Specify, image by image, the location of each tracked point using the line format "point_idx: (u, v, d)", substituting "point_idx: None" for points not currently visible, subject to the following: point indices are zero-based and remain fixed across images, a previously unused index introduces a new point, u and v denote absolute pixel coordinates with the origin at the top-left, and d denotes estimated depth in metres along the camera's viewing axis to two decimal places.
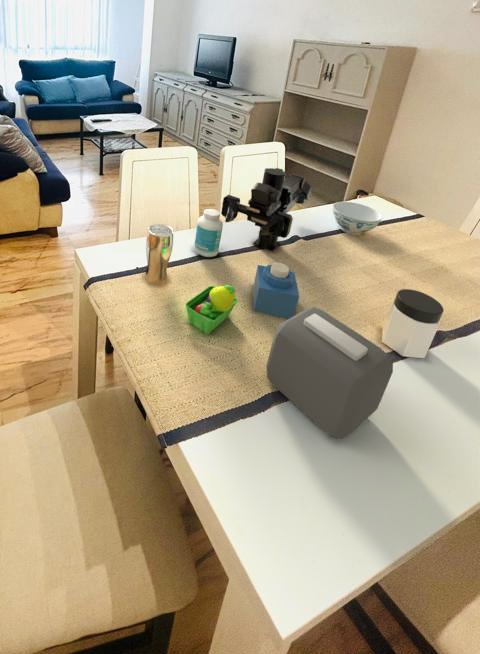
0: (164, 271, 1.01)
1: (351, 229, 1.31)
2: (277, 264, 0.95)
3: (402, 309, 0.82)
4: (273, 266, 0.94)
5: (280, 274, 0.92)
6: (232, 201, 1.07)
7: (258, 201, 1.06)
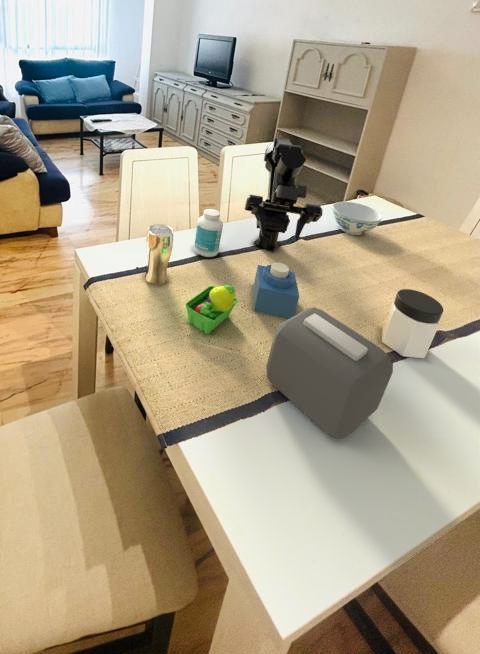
0: (164, 271, 1.01)
1: (351, 229, 1.31)
2: (277, 264, 0.95)
3: (402, 309, 0.82)
4: (273, 266, 0.94)
5: (280, 274, 0.92)
6: (260, 208, 1.02)
7: (283, 198, 1.01)
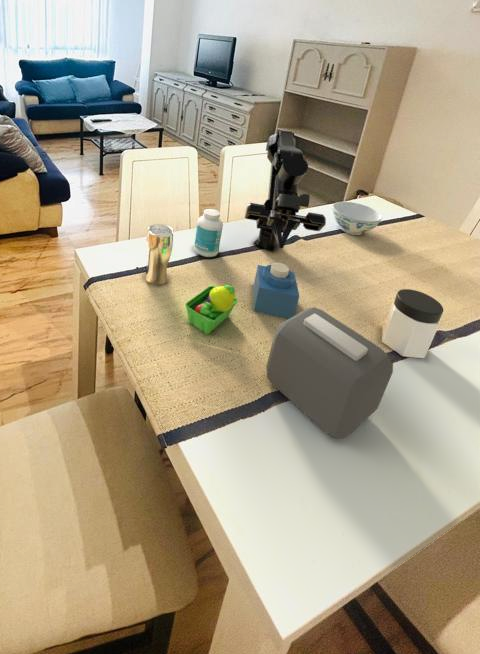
0: (164, 271, 1.01)
1: (351, 229, 1.31)
2: (277, 264, 0.95)
3: (402, 309, 0.82)
4: (273, 266, 0.94)
5: (280, 274, 0.92)
6: (277, 219, 0.97)
7: (285, 206, 0.97)
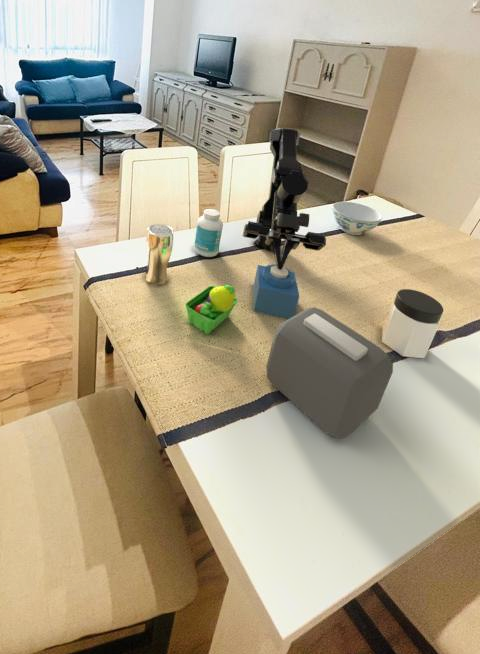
0: (164, 271, 1.01)
1: (351, 229, 1.31)
2: (276, 267, 0.95)
3: (402, 309, 0.82)
4: (272, 269, 0.94)
5: (279, 277, 0.93)
6: (276, 239, 0.94)
7: None
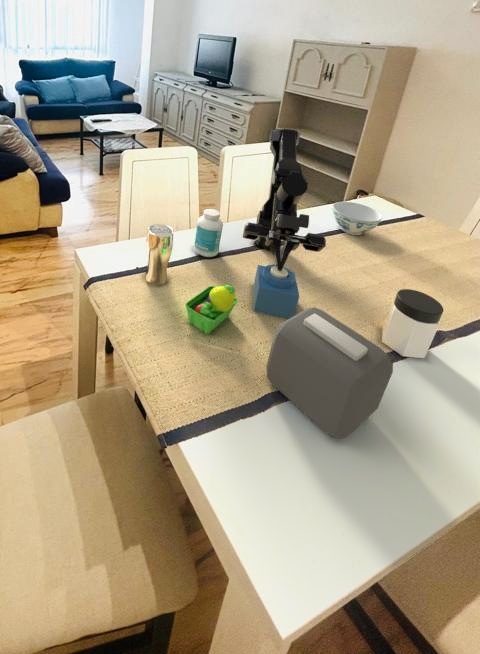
0: (164, 271, 1.01)
1: (351, 229, 1.31)
2: (276, 268, 0.95)
3: (402, 309, 0.82)
4: (272, 270, 0.94)
5: None
6: (276, 240, 0.94)
7: None
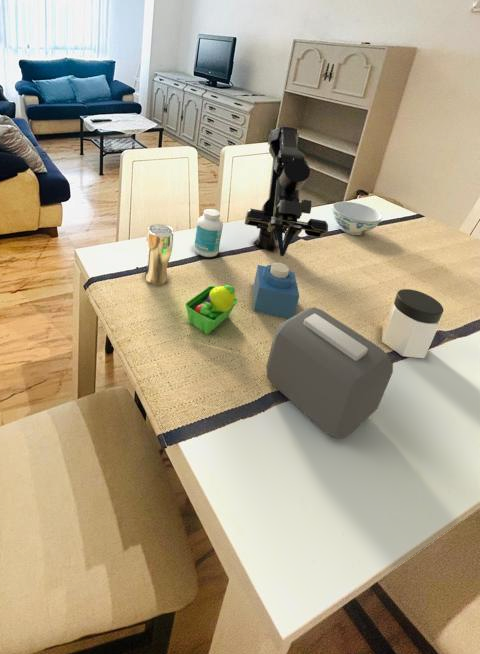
0: (164, 271, 1.01)
1: (351, 229, 1.31)
2: (277, 264, 0.95)
3: (402, 309, 0.82)
4: (273, 266, 0.94)
5: (280, 274, 0.92)
6: (278, 226, 0.94)
7: (286, 212, 0.95)
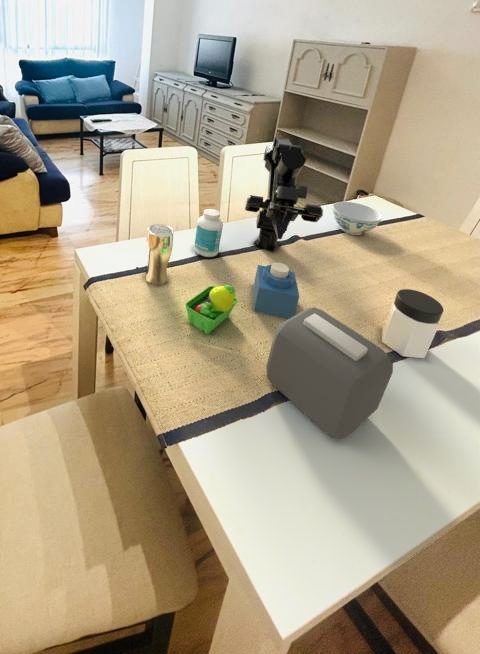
0: (164, 271, 1.01)
1: (351, 229, 1.31)
2: (277, 264, 0.95)
3: (402, 309, 0.82)
4: (273, 266, 0.94)
5: (280, 274, 0.92)
6: (276, 211, 1.01)
7: (284, 198, 1.01)
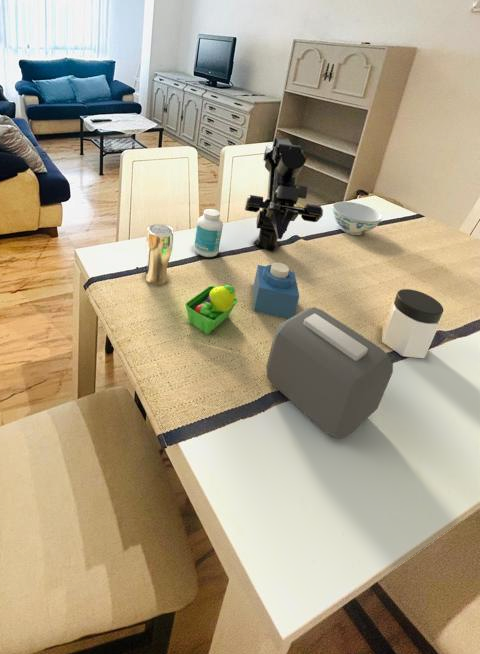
0: (164, 271, 1.01)
1: (351, 229, 1.31)
2: (277, 264, 0.95)
3: (402, 309, 0.82)
4: (273, 266, 0.94)
5: (280, 274, 0.92)
6: (276, 211, 1.01)
7: (284, 198, 1.01)
